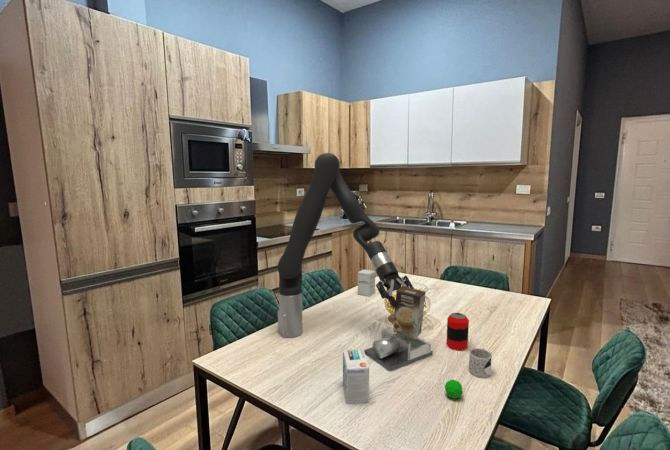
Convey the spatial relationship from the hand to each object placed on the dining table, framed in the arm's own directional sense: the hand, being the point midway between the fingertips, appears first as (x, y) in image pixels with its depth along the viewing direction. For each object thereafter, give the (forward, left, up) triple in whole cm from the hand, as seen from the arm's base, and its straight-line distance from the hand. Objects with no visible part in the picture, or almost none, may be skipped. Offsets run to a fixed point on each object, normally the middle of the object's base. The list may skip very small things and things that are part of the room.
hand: (404, 304), depth 128 cm
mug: (+13, -23, -18) cm, 32 cm away
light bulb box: (-29, -11, -18) cm, 36 cm away
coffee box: (+1, -1, -11) cm, 11 cm away
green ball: (-6, -28, -18) cm, 34 cm away
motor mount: (-3, -1, -18) cm, 18 cm away
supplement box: (+27, +58, -18) cm, 66 cm away
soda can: (+20, -8, -18) cm, 28 cm away
